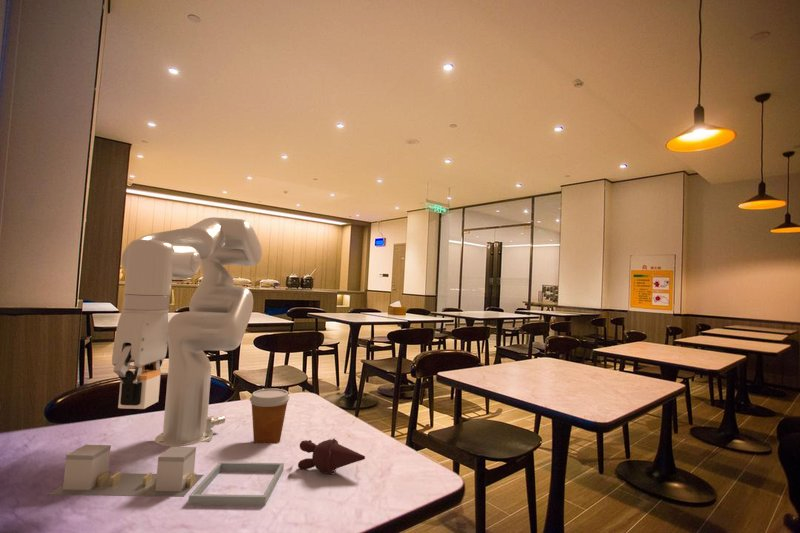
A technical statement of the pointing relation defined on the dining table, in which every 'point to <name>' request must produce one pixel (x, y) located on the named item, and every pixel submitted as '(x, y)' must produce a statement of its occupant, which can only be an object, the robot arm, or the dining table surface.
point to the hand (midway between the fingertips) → (139, 399)
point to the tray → (251, 500)
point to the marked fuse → (146, 389)
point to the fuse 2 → (175, 468)
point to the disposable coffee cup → (268, 414)
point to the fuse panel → (128, 486)
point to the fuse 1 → (86, 466)
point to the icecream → (327, 456)
